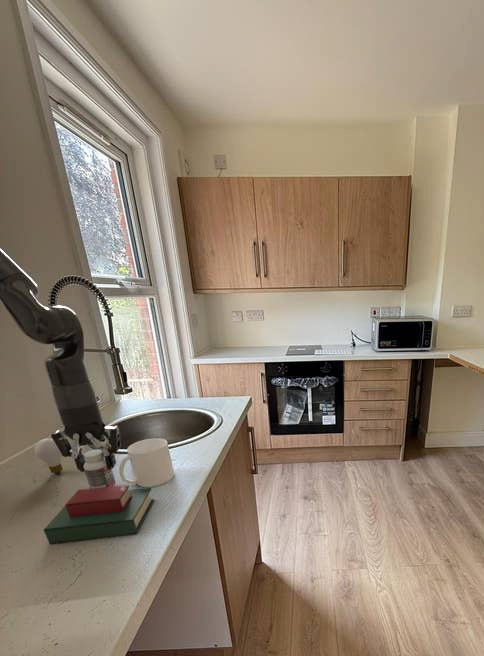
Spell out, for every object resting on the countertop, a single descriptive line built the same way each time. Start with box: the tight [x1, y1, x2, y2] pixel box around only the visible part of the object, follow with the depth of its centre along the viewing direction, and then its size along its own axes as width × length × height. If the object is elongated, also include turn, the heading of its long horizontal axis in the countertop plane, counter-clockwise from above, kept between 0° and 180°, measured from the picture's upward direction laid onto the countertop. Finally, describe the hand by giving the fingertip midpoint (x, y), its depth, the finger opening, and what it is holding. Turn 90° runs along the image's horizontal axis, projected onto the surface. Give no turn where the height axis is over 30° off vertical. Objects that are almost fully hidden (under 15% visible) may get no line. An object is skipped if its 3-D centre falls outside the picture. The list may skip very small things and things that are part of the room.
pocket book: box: [64, 484, 132, 517], centre depth 72 cm, size 10×6×3 cm, turn 99°
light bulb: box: [34, 437, 64, 475], centre depth 91 cm, size 6×6×10 cm
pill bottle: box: [83, 449, 117, 489], centre depth 84 cm, size 5×5×10 cm
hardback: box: [43, 487, 155, 545], centre depth 73 cm, size 16×12×4 cm
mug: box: [118, 437, 175, 488], centre depth 87 cm, size 12×9×9 cm
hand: (98, 468), depth 83 cm, fingers closed on pill bottle, 5 cm apart
